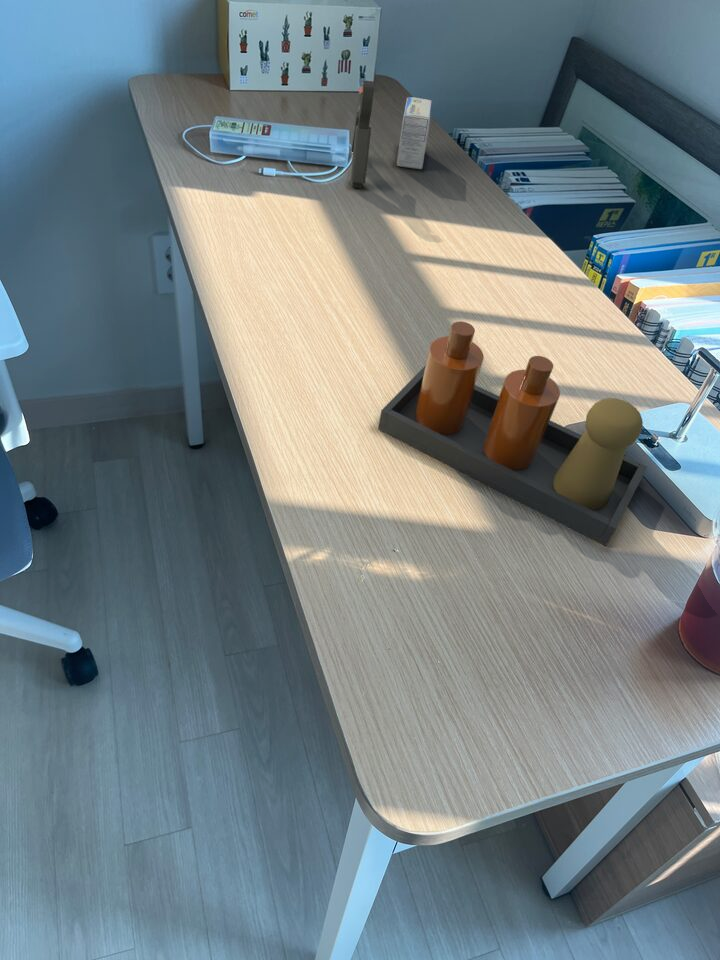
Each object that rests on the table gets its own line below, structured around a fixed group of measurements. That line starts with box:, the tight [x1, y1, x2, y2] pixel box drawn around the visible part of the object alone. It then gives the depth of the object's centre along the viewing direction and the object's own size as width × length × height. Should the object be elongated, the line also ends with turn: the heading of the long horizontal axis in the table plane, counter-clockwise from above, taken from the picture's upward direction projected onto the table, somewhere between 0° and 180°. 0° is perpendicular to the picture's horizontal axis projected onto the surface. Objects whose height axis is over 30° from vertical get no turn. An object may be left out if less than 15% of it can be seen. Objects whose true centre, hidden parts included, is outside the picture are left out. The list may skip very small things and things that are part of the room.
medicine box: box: [396, 96, 433, 170], centre depth 127 cm, size 8×4×9 cm, turn 174°
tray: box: [377, 364, 648, 547], centre depth 81 cm, size 27×11×3 cm, turn 58°
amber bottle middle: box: [483, 355, 561, 470], centre depth 77 cm, size 6×6×12 cm
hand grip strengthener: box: [350, 80, 375, 189], centre depth 119 cm, size 2×12×15 cm, turn 1°
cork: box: [553, 397, 644, 510], centre depth 75 cm, size 6×6×11 cm
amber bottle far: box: [415, 321, 484, 434], centre depth 79 cm, size 6×6×12 cm
